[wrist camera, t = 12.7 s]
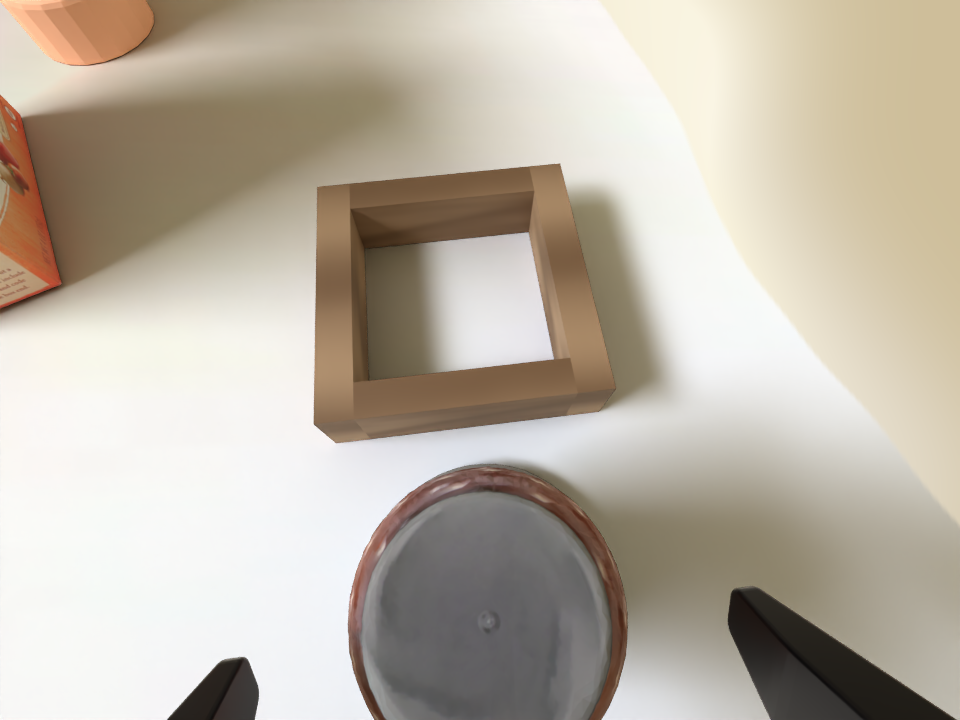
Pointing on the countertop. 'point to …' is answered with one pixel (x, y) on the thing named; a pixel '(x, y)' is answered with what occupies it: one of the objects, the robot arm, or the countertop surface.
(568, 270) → the walnut holder
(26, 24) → the pepper shaker
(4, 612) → the countertop surface
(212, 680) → the robot arm
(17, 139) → the cracker box
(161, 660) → the countertop surface
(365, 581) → the supplement bottle
